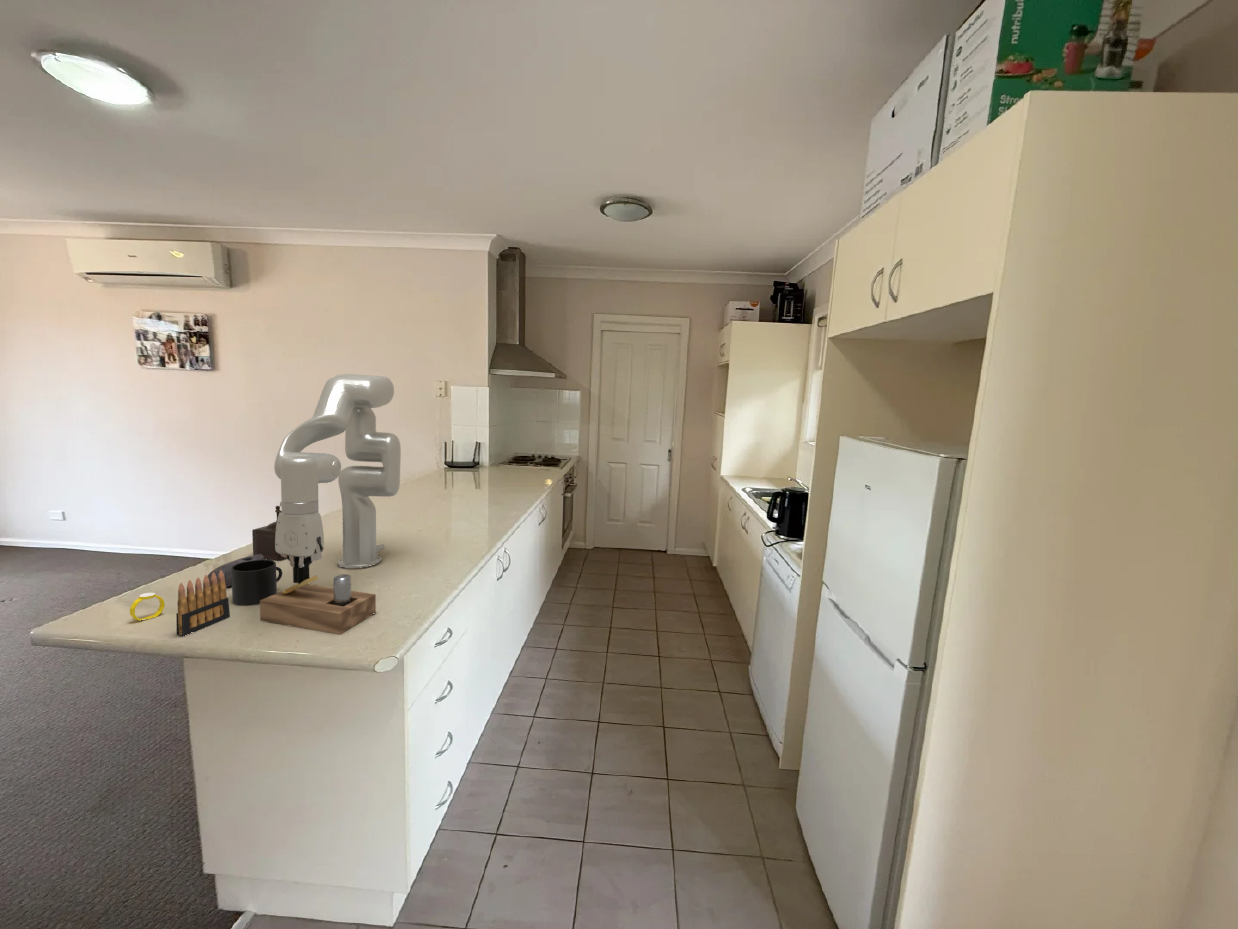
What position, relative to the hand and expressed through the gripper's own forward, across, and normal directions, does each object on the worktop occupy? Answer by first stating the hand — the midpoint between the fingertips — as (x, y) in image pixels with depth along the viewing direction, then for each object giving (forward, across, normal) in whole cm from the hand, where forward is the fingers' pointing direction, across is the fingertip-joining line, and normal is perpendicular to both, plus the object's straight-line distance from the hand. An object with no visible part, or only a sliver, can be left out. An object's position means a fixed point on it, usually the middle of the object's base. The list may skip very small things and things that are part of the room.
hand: (301, 581), depth 122 cm
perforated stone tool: (+8, -31, +11) cm, 34 cm away
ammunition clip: (+9, -16, -11) cm, 21 cm away
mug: (+9, -18, +6) cm, 21 cm away
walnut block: (+9, +4, +1) cm, 10 cm away
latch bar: (+2, -1, +1) cm, 2 cm away
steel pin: (+9, +11, +1) cm, 14 cm away
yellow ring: (+9, -31, -12) cm, 34 cm away
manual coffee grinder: (+8, -41, +37) cm, 56 cm away
